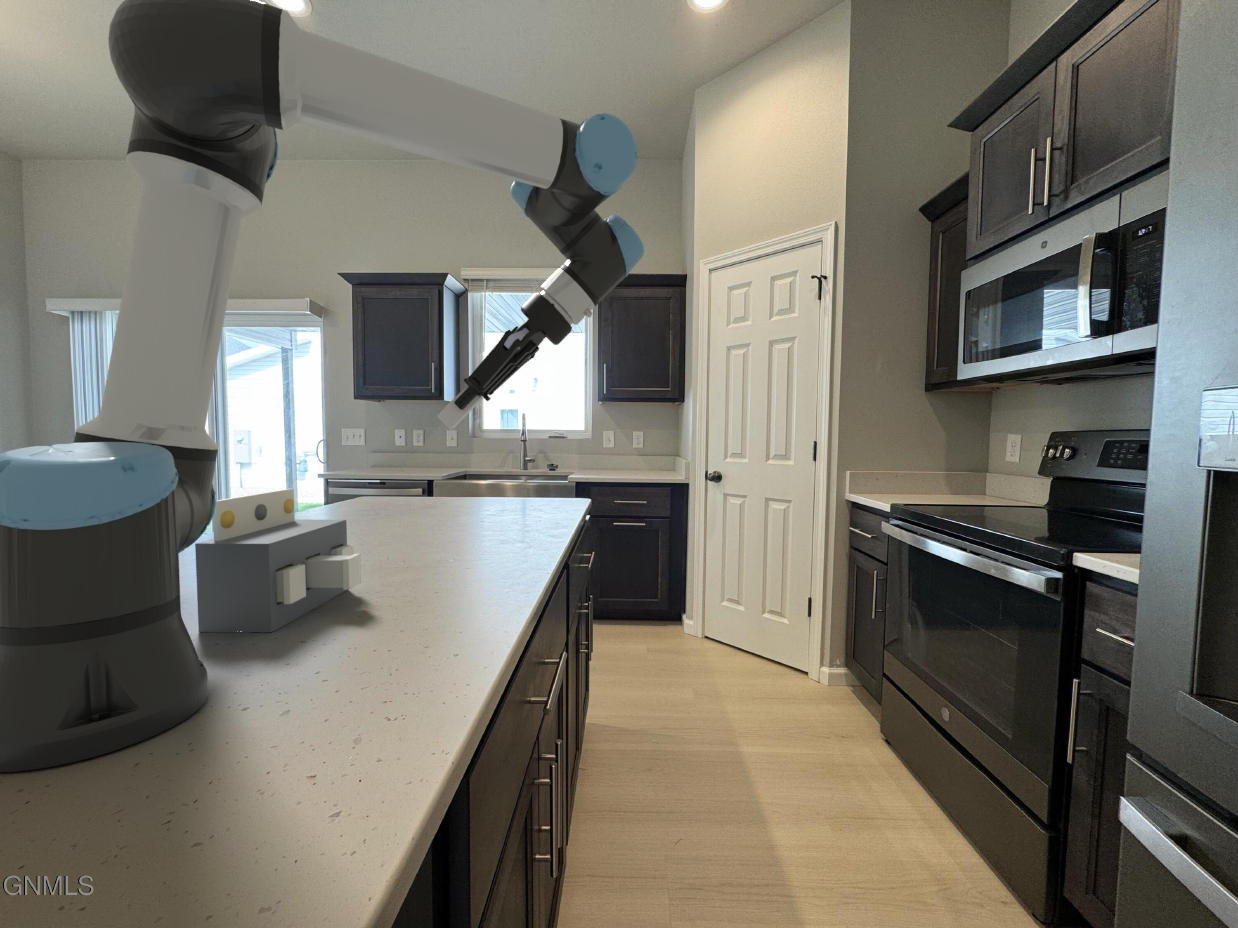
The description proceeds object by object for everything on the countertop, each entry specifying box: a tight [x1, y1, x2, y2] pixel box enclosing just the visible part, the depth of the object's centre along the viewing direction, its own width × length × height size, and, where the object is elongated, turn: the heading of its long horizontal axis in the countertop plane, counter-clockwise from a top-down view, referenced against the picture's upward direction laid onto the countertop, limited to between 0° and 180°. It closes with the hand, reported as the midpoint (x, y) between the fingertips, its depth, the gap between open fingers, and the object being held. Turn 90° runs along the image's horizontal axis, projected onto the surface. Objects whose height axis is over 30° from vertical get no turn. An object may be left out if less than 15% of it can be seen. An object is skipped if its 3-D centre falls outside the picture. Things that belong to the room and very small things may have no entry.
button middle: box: [306, 553, 362, 591], centre depth 78 cm, size 3×8×4 cm, turn 89°
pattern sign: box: [212, 488, 296, 541], centre depth 77 cm, size 16×1×5 cm, turn 179°
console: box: [194, 519, 348, 633], centre depth 78 cm, size 19×9×11 cm, turn 179°
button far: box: [331, 544, 355, 556], centre depth 84 cm, size 3×8×4 cm, turn 89°
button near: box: [276, 564, 306, 604], centre depth 71 cm, size 3×8×4 cm, turn 89°
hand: (444, 422), depth 83 cm, fingers closed
